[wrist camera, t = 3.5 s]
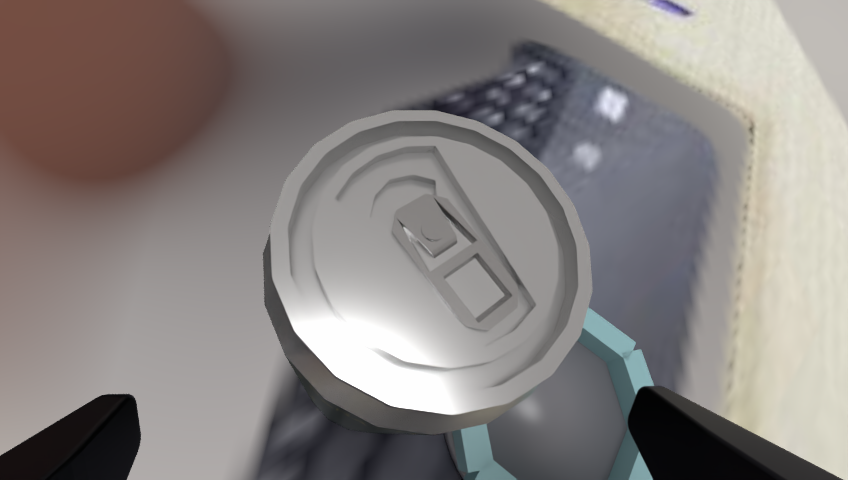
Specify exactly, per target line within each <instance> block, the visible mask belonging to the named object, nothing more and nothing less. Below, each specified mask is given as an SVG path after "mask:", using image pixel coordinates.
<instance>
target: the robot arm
mask: <svg viewBox="0 0 848 480" xmlns="http://www.w3.org/2000/svg"><path fill="white" fill-rule="evenodd" d="M627 424H628V429H629V432H630V434H631V436H632V438H633V440H634V442H635V444H636V446H637V448H638V450H639V452H640V454H641V456H642V458H643V460H644V462H645V464H646V466H647V468H648V470H649V472H650V474H651V476H652V478H653V480H843V479H841V478H839V477H837V476H835V475H833V474H831V473H829V472H827V471H825V470H823V469H822V468H820V467H818V466H816V465H814V464H812V463H810V462H808V461H806V460H804V459H802V458H800V457H798V456H796V455H794V454H793V453H791V452H789V451H787V450H785V449H783V448H781V447H779V446H777V445H775V444H773V443H771V442H769V441H767V440H766V439H764V438H762V437H760V436H758V435H756V434H754V433H752V432H750V431H748V430H746V429H744V428H742V427H740V426H738V425H737V424H735V423H733V422H731V421H729V420H727V419H725V418H723V417H721V416H719V415H717V414H715V413H713V412H711V411H710V410H707V409H706V408H704V407H701V406H700V405H698V404H696V403H694V402H692V401H690V400H688V399H686V398H684V397H682V396H681V395H679V394H677V393H675V392H673V391H671V390H669V389H667V388H665V387H662V386H643V387H641V388H640V389H639V390H638V391H637V394H636V396H635V399H634V402H633V404H632V407H631V410H630V412H629V415H628V419H627ZM140 440H141V432H140V426H139V418H138V411H137V404H136V400H135V398H134V397H133V396H132V395H130V394H107V395H101V396H99V397H97V398H95V399H94V400H92V401H91V402H89V403H87V404H85V405H84V406H82V407H80V408H79V409H77V410H75V411H74V412H72V413H70V414H69V415H67V416H65V417H64V418H62V419H60V420H59V421H57V422H55V423H54V424H52V425H50V426H49V427H47V428H45V429H44V430H42V431H40V432H39V433H37V434H35V435H34V436H32V437H31V438H29V439H27V440H26V441H24V442H22V443H21V444H19V445H17V446H16V447H14V448H12V449H11V450H9V451H7V452H6V453H4V454H2V455H1V456H0V480H127V477H128V475H129V472H130V470H131V467H132V465H133V462H134V460H135V457H136V455H137V452H138V449H139V446H140Z"/></svg>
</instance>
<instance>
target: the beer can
mask: <svg viewBox="0 0 848 480" xmlns="http://www.w3.org/2000/svg"><path fill="white" fill-rule="evenodd" d="M263 267H264V268H263V269H264V302H265V307H266V309H267V312H268V314H269V316H270V319H271V321H272V324H273V326H274V328H275V331H276V334H277V336H278V339H279V341H280V344H281V346H282V349H283V351H284V353H285V356H286V357H287V359H288V361H289V363H290V364H291V366H292V368H293V369H294V371H295V373H296V374H297V376H298V378H299V380H300V381H301V383H302V385H303V386H304V388H305V390H306V391H307V393H308V395H309V397H310V398H311V400H312V402H313V403H314V404H315V405H316V406H317V407H318V408H319V409H320V411H321V412H322V413H323V414H324V415H325V416H326V417H327V418H328V419H329V420H331V421H333V422H335V423H337V424H339V425H340V426H342V427H344V428H346V429H348V430H354V431H361V432H369V433H390V434H418V435H437V434H442V433H446V432H451V431H455V430H460V429H465V428H469V427H474V426H478V425H483V424H488V423H490V422H491V421H493V420H494V419H496V418H497V417H499V416H500V415H502V414H503V413H505V412H506V411H508V410H509V409H511V408H512V407H514V406H515V405H517V404H518V403H520V402H521V401H523V400H525V399H526V398H528V397H529V396H531V395H532V393H533V392H534V390H535V389H536V388H537V386H538V385H539V384H540V383H541V382H542V381H544V380H545V379H547V378H548V377H550V376H552V375H553V373H554V372H555V371H556V369H557V368H558V366H559V365H560V364H561V362H562V361H563V359H564V358H565V357H566V355H567V354H568V352H569V351H570V350H571V348H572V347H573V345H574V344H575V343H576V341H577V340H578V338H579V337H580V336H581V332H582V328H583V324H584V321H585V317H586V313H587V309H588V306H589V302H590V298H591V294H592V277H591V262H590V247H589V244H588V241H587V238H586V236H585V233H584V230H583V228H582V225H581V222H580V220H579V217H578V214H577V212H576V209H575V206H574V204H573V203H572V201H571V200H570V199H569V197H568V196H567V194H566V193H565V192H564V190H563V189H562V187H561V186H560V185H559V183H558V182H557V180H556V179H555V178H554V176H553V175H552V173H551V172H550V171H549V169H548V168H547V167H545V166H544V165H543V164H542V163H541V162H540V161H538V160H537V159H536V158H535V157H534V156H533V155H531V154H530V153H529V152H528V151H527V150H526V149H524V148H523V147H522V146H521V145H520V144H519V143H517V142H516V141H515V140H513V139H511V138H509V137H507V136H505V135H503V134H501V133H499V132H497V131H496V130H494V129H492V128H490V127H488V126H486V125H484V124H482V123H480V122H478V121H475V120H471V119H467V118H463V117H459V116H455V115H451V114H447V113H443V112H439V111H398V110H393V111H389V112H385V113H382V114H378V115H374V116H370V117H367V118H363V119H359V120H356V121H352V122H350V123H348V124H347V125H345V126H344V127H342V128H340V129H339V130H337V131H335V132H334V133H332V134H331V135H329V136H328V137H326V138H324V139H323V140H321V141H320V142H318V143H316V144H315V145H314V146H313V147H312V148H311V149H310V151H309V152H308V153H307V154H306V156H305V157H304V158H303V159H302V160H301V162H300V163H299V164H298V165H297V166H296V168H295V169H294V170H293V171H292V173H291V174H290V175H289V176H288V178H287V179H286V180H285V183H284V186H283V189H282V192H281V195H280V198H279V201H278V204H277V206H276V210H275V212H274V215H273V218H272V221H271V224H270V234H269V237H268V240H267V243H266V246H265V249H264V252H263Z"/></svg>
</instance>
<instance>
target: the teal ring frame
mask: <svg viewBox="0 0 848 480" xmlns="http://www.w3.org/2000/svg"><path fill="white" fill-rule="evenodd" d="M635 344H636V342H634V341H633V340H632V339H630V338H629V337H628V336H626V335H625V334H624V333H622V332H621V331H620V330H618V329H617V328H616V327H614V326H613V325H612V324H610V323H609V322H608V321H606V320H605V319H604V318H602V317H601V316H600V315H598V314H597V313H596V312H594V311H593V310H591V309H590V308H589V307H588V309H587V313H586V317H585V321H584V324H583V328H582V332H581V336H580V337H579V338H578V340H577V341H576V343H575V344H574V345H573V347H572V348H571V350H570V351H569V352H568V354H567V355H566V357H565V358H564V359H563V361H562V362H561V364H560V365H559V366H558V368H557V369H556V371H555V372H554V373H553V375H552V376H550V377H548V378H547V379H545V380H544V381H542V382H541V383H540V384H539V385H538V386H537V388H536V389H535V390H534V392H533V393H532V395H531V396H529V397H528V398H526V399H525V400H523V401H521V402H520V403H518V404H517V405H515V406H514V407H512V408H511V409H509V410H508V411H506V412H505V413H503V414H502V415H500V416H499V417H497V418H496V419H494V420H493V421H491V422H490V423H488V424H483V425H478V426H474V427H469V428H465V429H460V430H455V431H451V432H446V433H444V435H445V440H446V443H447V446H448V449H449V452H450V455H451V457H452V459H453V462H454V464H455V466H456V468H457V470H458V472H459V474H460V475H461V477H462V478H463V480H653V478H652V476H651V474H650V472H649V470H648V468H647V466H646V464H645V462H644V460H643V458H642V456H641V454H640V452H639V450H638V448H637V446H636V444H635V442H634V440H633V438H632V436H631V434H630V432H629V429H628V424H627V419H628V415H629V412H630V410H631V407H632V404H633V402H634V399H635V396H636V394H637V391H638V390H639V389H640V388H641V387H643V386H654V384H653V381H652V379H651V376H650V373H649V370H648V368H647V365H646V362H645V359H644V356H643V354H642V351H641V350H634V351H633V349H634V346H635Z"/></svg>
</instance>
